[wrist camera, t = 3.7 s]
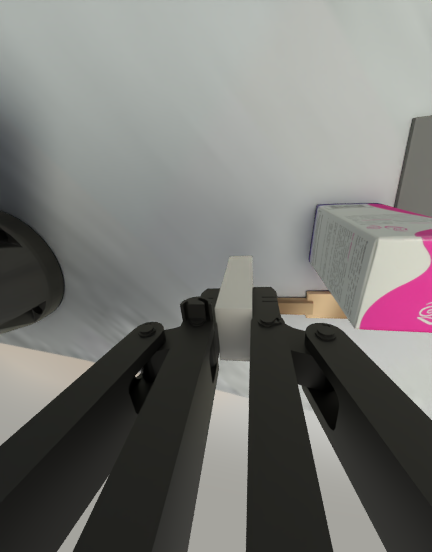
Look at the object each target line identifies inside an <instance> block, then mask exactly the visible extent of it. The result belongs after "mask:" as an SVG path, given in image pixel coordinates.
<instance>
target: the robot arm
mask: <svg viewBox="0 0 432 552" xmlns="http://www.w3.org/2000/svg"><path fill="white" fill-rule="evenodd" d="M63 291H64V283H63V277H62V273H61V270H60V267H59V264H58V262H57V260H56V258H55V256H54V255H53V253H52V251H51V250H50V248H49V247H48V246H47V244H46V243H45V242H44V241H43V240H42V238H41V237H40V236H39V235H38V234H37V233H36V232H35V231H33V230H32V229H31V228H30V227H29V226H27V225H26V224H25V223H23V222H22V221H20V220H19V219H17V218H15V217H13V216H11V215H9V214H7V213H4V212H2V211H0V334H2V333H6V332H9V331H12V330H15V329H18V328H22V327H25V326H28V325H31V324H34V323H36V322H38V321H40V320H41V319H43V318H44V317H46V316H47V315H49V314H50V313H52V312H53V311H54V310H55V309H56V308H57V307H58V306H59V304H60V302H61V300H62V297H63ZM180 307H181V313H182V318H183V322H182V324H181V326H180V327H177V328H173V329H168V330H164V327H163V325H162V324H161V323H158V322H149V323H144V324H142V325H140V326H138V327H137V328H135V329H134V330H133V331H132V332H130V333H129V334H128V335H127V336H126V337H125V338H124V339H122V340H121V341H120V342H119V343H118V344H117V345H116V346H114V347H113V348H112V349H111V350H110V351H109V352H108V353H106V354H105V355H104V356H103V357H102V358H101V359H99V360H98V361H97V362H96V363H95V364H94V365H93V366H91V367H90V368H89V369H88V370H87V371H86V372H85V373H83V374H82V375H81V376H80V377H79V378H78V379H77V380H75V381H74V382H73V383H72V384H71V385H70V386H69V387H67V388H66V389H65V390H64V391H63V392H62V393H60V394H59V395H58V396H57V397H56V398H55V399H54V400H52V401H51V402H50V403H49V404H48V405H47V406H46V407H44V408H43V409H42V410H41V411H40V412H39V413H38V414H36V415H35V416H34V417H33V418H32V419H31V420H30V421H29V422H27V423H26V424H25V425H24V426H23V427H21V428H20V429H19V430H18V431H17V432H16V433H15V434H13V435H12V436H11V437H10V438H9V439H8V440H7V441H6V442H4V443H3V444H2V445H1V446H0V552H57V551H58V549H59V548H60V546H61V545H62V543H63V542H64V540H65V539H66V537H67V536H68V535H69V533H70V531H71V530H72V528H73V527H74V525H75V524H76V523H77V521H78V520H79V518H80V517H81V515H82V514H83V513H84V511H85V509H86V508H87V507H88V505H89V504H90V502H91V501H92V499H93V498H94V496H95V495H96V493H97V492H98V490H99V489H100V488H101V486H102V484H103V483H104V482H105V480H106V479H107V477H108V476H109V477H108V479H107V481H106V483H105V485H104V487H103V489H102V492H101V494H100V496H99V498H98V500H97V502H96V504H95V506H94V508H93V511H92V512H91V515H90V517H89V519H88V521H87V523H86V525H85V527H84V529H83V531H82V533H81V535H80V538H79V540H78V542H77V544H76V546H75V548H74V550H73V552H187V551H188V545H189V539H190V533H191V527H192V521H193V516H194V510H195V504H196V499H197V493H198V487H199V481H200V475H201V470H202V464H203V458H204V452H205V446H206V441H207V435H208V429H209V423H210V418H211V412H212V406H213V400H214V394H215V389H216V383H217V377H218V371H219V365H218V357H219V353H220V360H232V361H250V380H249V429H248V479H247V528H246V530H247V531H246V552H333V548H332V544H331V539H330V535H329V530H328V525H327V520H326V515H325V511H324V506H323V501H322V496H321V492H320V487H319V482H318V478H317V473H316V468H315V464H314V459H313V454H312V449H311V444H310V440H309V435H308V430H307V426H306V422H305V416H304V412H303V407H302V402H301V397H300V393H299V388H298V384H299V385H302V389H303V391H304V393H305V395H306V397H307V399H308V401H309V403H310V405H311V407H312V408H313V410H314V412H315V414H316V416H317V418H318V420H319V422H320V424H321V426H322V428H323V430H324V432H325V433H326V435H327V437H328V439H329V441H330V443H331V445H332V447H333V448H334V450H335V453H336V455H337V456H338V458H339V460H340V462H341V464H342V466H343V468H344V469H345V472H346V474H347V476H348V477H349V480H350V481H351V483H352V485H353V487H354V489H355V491H356V493H357V495H358V497H359V499H360V501H361V503H362V505H363V506H364V508H365V510H366V512H367V514H368V516H369V518H370V520H371V522H372V524H373V526H374V528H375V529H376V531H377V533H378V535H379V537H380V539H381V541H382V543H383V545H384V547H385V549H386V551H387V552H432V420H431V419H430V418H429V417H428V416H427V415H426V414H425V413H424V412H423V411H422V410H421V409H420V408H419V407H418V406H417V405H416V404H415V403H414V402H413V401H412V400H411V399H410V398H409V397H408V396H407V395H406V394H405V393H404V392H403V391H402V390H401V389H400V388H399V387H398V386H397V385H396V384H395V383H394V382H393V381H392V380H391V379H390V378H389V377H388V376H387V375H386V374H385V373H384V372H383V371H382V370H381V369H380V368H379V367H378V366H377V365H376V364H375V363H374V362H373V361H372V360H371V359H370V358H369V357H368V356H367V355H366V354H365V353H364V352H363V351H362V350H361V349H360V348H359V347H358V346H357V345H356V344H355V343H354V342H353V341H352V340H351V339H350V338H349V337H348V336H347V335H346V334H345V333H344V332H343V331H342V330H341V329H339V328H338V327H336V326H333V325H331V324H326V323H315V324H311V325H309V326H308V327H307V328H306V331H303V330H298V329H295V328H292V327H290V326H288V325H286V324H285V322H284V320H283V318H281V315H280V310H279V305H278V300H277V295H276V291H275V290H274V289H273V288H272V287H253V264H252V256H231V257H229V261H228V264H227V268H226V271H225V274H224V278H223V281H222V285H221V288H220V289H206V290H205V291H204V292H203V293H202V294H201V296H200V297H192V298H189V299H186V300H184V301H183V302H182V303H181V304H180ZM140 370H141V373H140V375H139V376H137V377H135V375H136V374H137V373H138V372H139V371H140ZM109 474H110V475H109Z"/></svg>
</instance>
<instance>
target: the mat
mask: <svg viewBox="0 0 432 552" xmlns="http://www.w3.org/2000/svg"><path fill="white" fill-rule="evenodd" d="M394 208H398V209H402V210H406V211H409V212H413V213H417V214H421V215H425V216H429V217H432V116H425V117H417V118H414V119H413V120H412V125H411V129H410V134H409V139H408V144H407V149H406V153H405V158H404V163H403V168H402V172H401V177H400V182H399V187H398V191H397V196H396V201H395V206H394Z"/></svg>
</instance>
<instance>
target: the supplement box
mask: <svg viewBox="0 0 432 552" xmlns="http://www.w3.org/2000/svg"><path fill="white" fill-rule="evenodd" d="M309 261H310V263H311V264H312V266H313V267H314V269H315V270H316V272H317V273H318V275H319V276H320V278H321V279H322V281H323V282H324V284H325V285H326V287H327V288H328V290H329V291H330V293H331V294H332V296H333V297H334V299H335V300H336V302H337V303H338V305H339V306H340V308H341V309H342V311H343V312H344V314H345V315H346V317H347V318H348V320H349V321H350V323H351V324H352V326H353V327H354V328H355V329H364V330H386V331H408V332H429V333H432V217H429V216H425V215H421V214H417V213H413V212H409V211H406V210H402V209H398V208H394V207H390V206H386V205H383V204H378V203H356V204H323V205H317V206H316V213H315V220H314V228H313V235H312V241H311V247H310V254H309Z"/></svg>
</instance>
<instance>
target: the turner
mask: <svg viewBox="0 0 432 552" xmlns="http://www.w3.org/2000/svg"><path fill="white" fill-rule="evenodd" d="M277 300H278V305H279V310H280V314H295V315H305V316H306V318H342V319H348V318H347V317H346V315H345V314H344V312H343V311H342V309H341V308H340V306H339V305H338V303H337V302H336V300H335V299H334V297H333V296H332V294H331V293H330V291H307V297H306V298H277Z"/></svg>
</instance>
